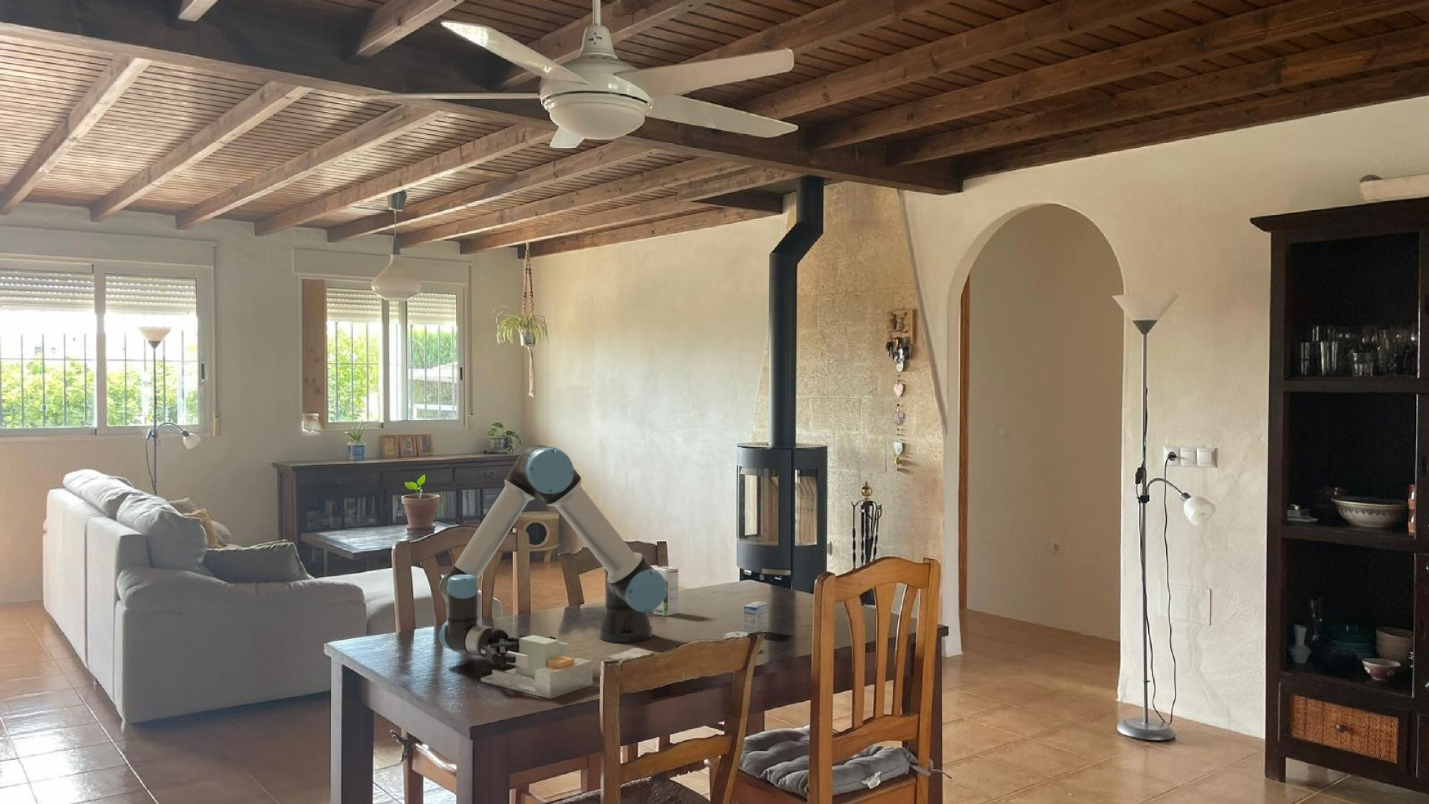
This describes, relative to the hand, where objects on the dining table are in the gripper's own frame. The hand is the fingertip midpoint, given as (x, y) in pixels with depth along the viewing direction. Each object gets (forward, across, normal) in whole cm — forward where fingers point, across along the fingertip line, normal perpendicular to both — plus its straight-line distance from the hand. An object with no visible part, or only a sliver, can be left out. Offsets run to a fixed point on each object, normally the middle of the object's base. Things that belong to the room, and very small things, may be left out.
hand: (548, 655), depth 253 cm
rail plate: (-4, 0, -7) cm, 8 cm away
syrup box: (-28, -78, -8) cm, 83 cm away
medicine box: (+10, -73, -8) cm, 74 cm away
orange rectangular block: (+4, 0, -6) cm, 8 cm away
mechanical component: (+16, -55, -8) cm, 58 cm away
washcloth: (+6, -29, -8) cm, 30 cm away
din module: (-3, 0, -6) cm, 7 cm away
